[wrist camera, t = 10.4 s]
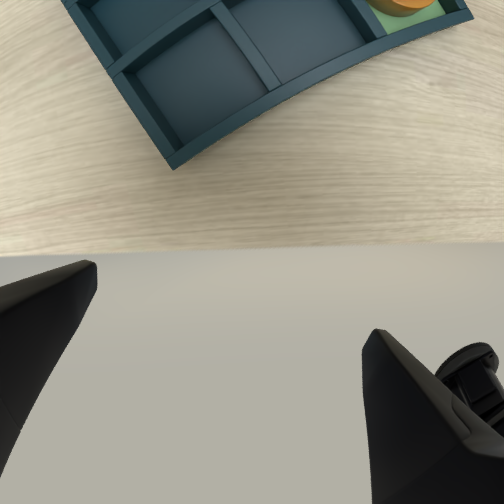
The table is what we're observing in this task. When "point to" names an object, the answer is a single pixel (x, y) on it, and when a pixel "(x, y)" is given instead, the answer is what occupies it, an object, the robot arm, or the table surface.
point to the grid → (234, 56)
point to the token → (399, 6)
